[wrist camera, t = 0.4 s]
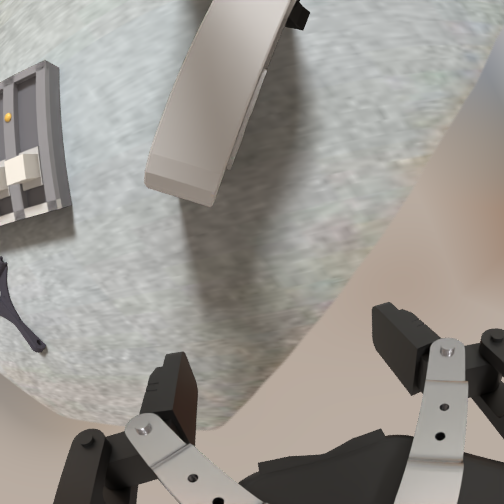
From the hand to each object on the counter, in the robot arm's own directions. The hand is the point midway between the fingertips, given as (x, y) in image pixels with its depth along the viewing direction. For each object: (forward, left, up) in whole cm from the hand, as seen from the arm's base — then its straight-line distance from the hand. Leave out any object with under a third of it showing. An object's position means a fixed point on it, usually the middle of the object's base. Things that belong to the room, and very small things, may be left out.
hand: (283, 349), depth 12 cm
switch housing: (-16, -32, -28) cm, 45 cm away
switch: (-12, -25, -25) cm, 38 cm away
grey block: (-18, +1, -29) cm, 34 cm away
